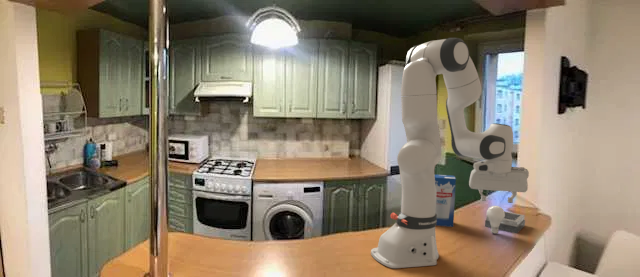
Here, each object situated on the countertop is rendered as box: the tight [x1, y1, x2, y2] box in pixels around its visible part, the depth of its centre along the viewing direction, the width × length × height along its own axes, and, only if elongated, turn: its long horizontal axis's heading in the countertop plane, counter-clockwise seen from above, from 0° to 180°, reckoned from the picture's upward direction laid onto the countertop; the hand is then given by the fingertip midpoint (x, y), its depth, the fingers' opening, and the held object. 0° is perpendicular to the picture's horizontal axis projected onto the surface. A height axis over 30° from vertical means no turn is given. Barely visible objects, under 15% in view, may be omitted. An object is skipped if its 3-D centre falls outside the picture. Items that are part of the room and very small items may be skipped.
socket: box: [484, 211, 526, 234], centre depth 154 cm, size 12×12×4 cm
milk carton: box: [435, 174, 457, 228], centre depth 156 cm, size 10×6×20 cm, turn 76°
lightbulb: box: [486, 205, 506, 235], centre depth 145 cm, size 6×6×11 cm
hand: (496, 201), depth 144 cm, fingers open, 8 cm apart
